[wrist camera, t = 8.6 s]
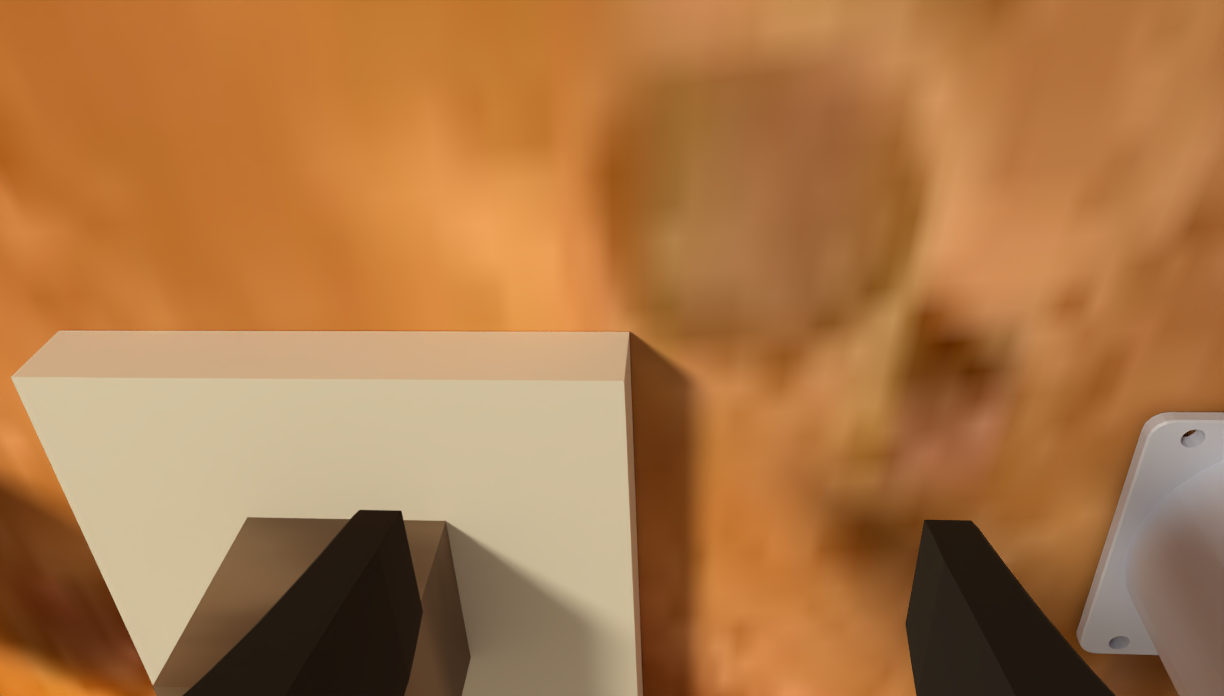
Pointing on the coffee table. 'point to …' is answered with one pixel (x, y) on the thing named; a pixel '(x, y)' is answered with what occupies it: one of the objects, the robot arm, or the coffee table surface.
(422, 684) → the walnut block
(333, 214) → the coffee table surface
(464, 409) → the base board
